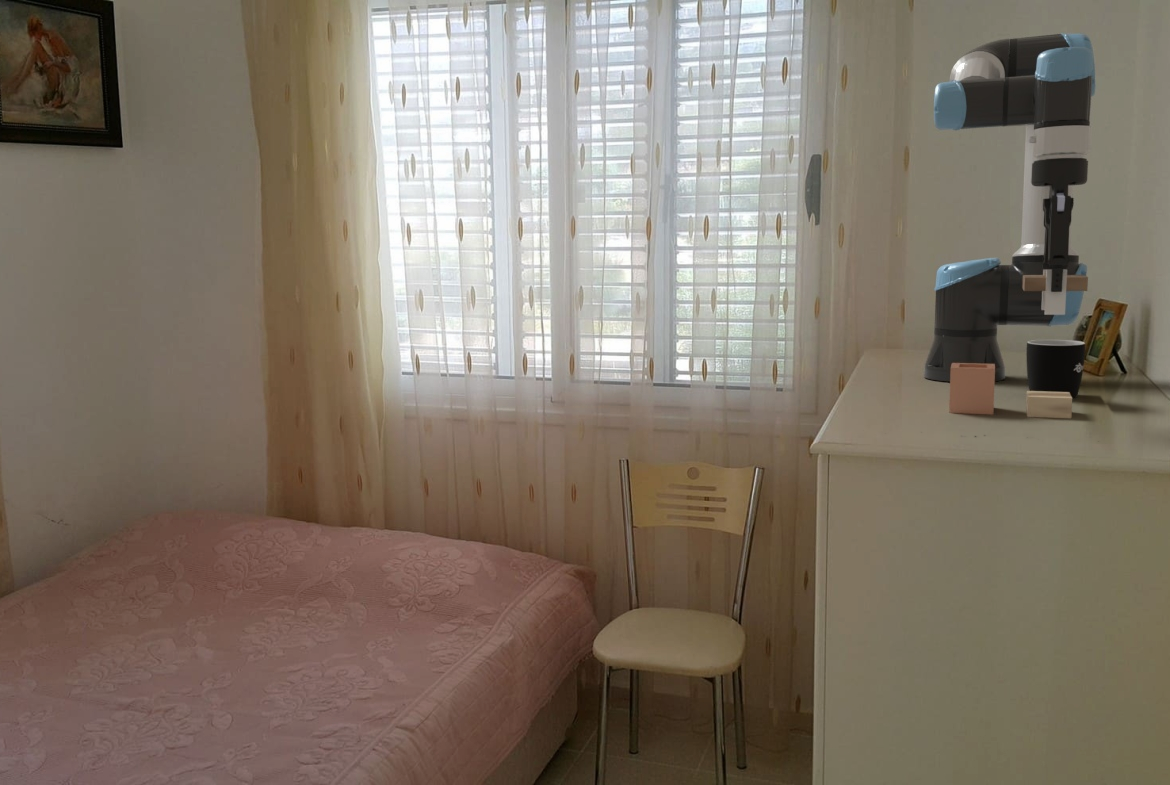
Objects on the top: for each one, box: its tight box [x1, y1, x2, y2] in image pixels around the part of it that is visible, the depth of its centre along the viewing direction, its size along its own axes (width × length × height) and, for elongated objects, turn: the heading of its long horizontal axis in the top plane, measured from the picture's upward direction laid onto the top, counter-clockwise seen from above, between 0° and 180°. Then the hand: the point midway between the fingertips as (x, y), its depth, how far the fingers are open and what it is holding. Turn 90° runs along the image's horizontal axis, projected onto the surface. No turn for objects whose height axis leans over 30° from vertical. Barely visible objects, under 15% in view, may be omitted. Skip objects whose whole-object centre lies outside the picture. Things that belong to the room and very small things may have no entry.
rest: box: [1025, 390, 1073, 419], centre depth 155 cm, size 6×6×4 cm
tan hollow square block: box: [948, 363, 996, 415], centre depth 160 cm, size 6×6×8 cm
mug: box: [1025, 339, 1086, 400], centre depth 172 cm, size 12×9×10 cm
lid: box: [1022, 275, 1089, 292], centre depth 152 cm, size 8×8×2 cm
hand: (1052, 312), depth 153 cm, fingers closed on lid, 8 cm apart
